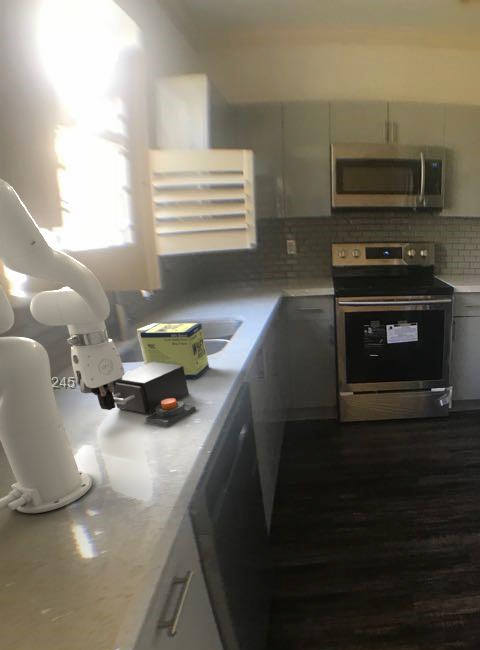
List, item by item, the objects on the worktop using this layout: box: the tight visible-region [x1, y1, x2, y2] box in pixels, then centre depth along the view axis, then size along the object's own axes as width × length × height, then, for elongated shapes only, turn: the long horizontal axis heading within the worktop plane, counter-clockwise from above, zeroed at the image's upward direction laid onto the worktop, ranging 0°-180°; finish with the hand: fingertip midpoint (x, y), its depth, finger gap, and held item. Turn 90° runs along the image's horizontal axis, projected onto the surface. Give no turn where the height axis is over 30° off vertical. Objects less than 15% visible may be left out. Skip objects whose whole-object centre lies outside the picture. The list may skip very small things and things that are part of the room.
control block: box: [145, 400, 197, 428], centre depth 119 cm, size 10×7×3 cm
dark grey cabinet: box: [119, 362, 190, 415], centre depth 128 cm, size 14×12×9 cm
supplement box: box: [136, 323, 157, 365], centre depth 158 cm, size 8×5×13 cm, turn 168°
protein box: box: [140, 322, 210, 380], centre depth 147 cm, size 10×16×16 cm
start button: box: [161, 398, 177, 409], centre depth 119 cm, size 4×4×2 cm
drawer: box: [112, 382, 149, 414], centre depth 124 cm, size 17×10×7 cm, turn 159°
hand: (108, 408), depth 116 cm, fingers closed
